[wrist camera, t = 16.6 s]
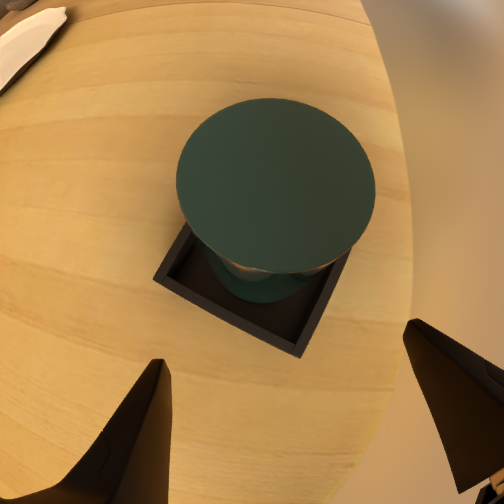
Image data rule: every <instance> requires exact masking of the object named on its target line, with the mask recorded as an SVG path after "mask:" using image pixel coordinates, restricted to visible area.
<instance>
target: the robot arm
mask: <svg viewBox="0 0 504 504" xmlns="http://www.w3.org/2000/svg"><path fill="white" fill-rule="evenodd" d="M403 342H404V345H405V347H406V350H407V353H408V356H409V359H410V362H411V365H412V368H413V371H414V374H415V376H416V378H417V380H418V383H419V385H420V388H421V390H422V392H423V395H424V397H425V400H426V402H427V404H428V407H429V409H430V412H431V414H432V417H433V419H434V422H435V424H436V427H437V430H438V432H439V435H440V438H441V440H442V444H443V446H444V449H445V452H446V454H447V458H448V461H449V464H450V467H451V471H452V473H453V477H454V480H455V484H456V487H457V491H458V493H459V494H461V493H463V492H464V491H466V490H468V489H470V488H472V487H473V486H475V485H477V484H478V483H480V482H482V481H484V480H485V479H487V478H489V480H490V483H488V484H487V485H486V486H484V487H483V488H482V489H480V492H479V494H478V497H477V500H476V503H475V504H504V370H502V369H501V368H499V367H497V366H495V365H494V364H492V363H491V362H489V361H487V360H485V359H484V358H483V357H481V356H479V355H478V354H476V353H474V352H473V351H471V350H470V349H468V348H466V347H465V346H463V345H462V344H460V343H458V342H457V341H455V340H453V339H452V338H450V337H448V336H447V335H445V334H443V333H442V332H440V331H439V330H437V329H435V328H434V327H432V326H430V325H429V324H427V323H425V322H423V321H422V320H420V319H418V318H416V319H412V320H409V321H408V323H407V325H406V328H405V331H404V334H403ZM171 430H172V389H171V374H170V371H169V369H168V367H167V364H166V362H165V360H164V359H152V360H151V361H150V363H149V364H148V366H147V367H146V368H145V370H144V371H143V373H142V374H141V376H140V377H139V378H138V380H137V381H136V383H135V384H134V385H133V387H132V388H131V390H130V391H129V393H128V394H127V395H126V397H125V398H124V400H123V401H122V403H121V404H120V405H119V407H118V408H117V410H116V411H115V413H114V414H113V416H112V417H111V418H110V420H109V421H108V423H107V424H106V426H105V427H104V429H103V431H101V433H100V434H99V436H98V437H97V439H96V440H95V441H94V443H93V444H92V445H91V447H90V448H89V449H88V451H87V452H86V453H85V454H84V455H83V457H82V458H81V459H80V460H79V461H78V462H77V464H76V465H75V466H74V467H73V468H72V469H71V470H70V472H69V473H68V474H67V475H66V476H65V477H64V478H63V479H62V480H61V481H60V482H59V483H57V484H56V485H54V486H52V487H50V488H47V489H44V490H41V491H38V492H35V493H32V494H29V495H26V496H23V497H19V498H15V499H3V498H1V497H0V504H168V489H169V463H170V445H171Z"/></svg>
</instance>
